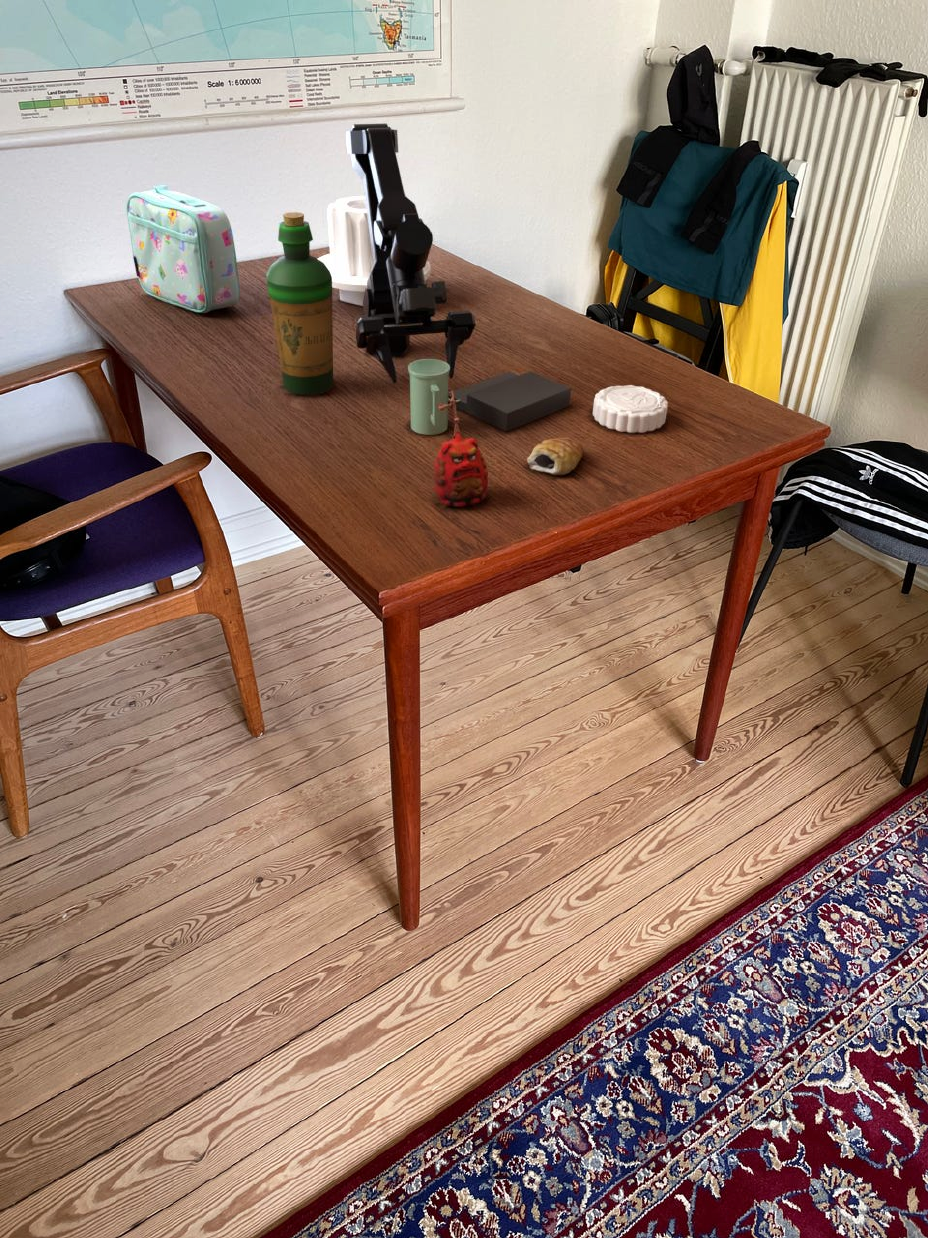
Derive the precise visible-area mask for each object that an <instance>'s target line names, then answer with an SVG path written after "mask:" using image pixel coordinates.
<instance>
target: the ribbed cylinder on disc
mask: <svg viewBox="0 0 928 1238" xmlns="http://www.w3.org/2000/svg"><path fill="white" fill-rule="evenodd" d="M326 211H327V214H326V215H327V226H328V228H327V229H328V241H329V253H328V254H324V255H322V256H320V257H317V259H319V260H320V261H322V262H323V263H324V264H325V265H326V267H327V268H328V270H329V271H330V273H331V276H332V289H333V288H334V289H337V290H339V301H341V302H344V303H348V304H352V305H357V306H361V307H363V299H364V293H365V288H367V280H368V278H369V276H370V273H371V271H372V268H373V257H372V249H371V241H370V232H369V224H368V216H367V208H366V200H365V195H353V196H348V197H343V198H337V199H336V200H335V201H334V202H330V203H329V204H328V207H327V210H326ZM431 270H432V269H431V263H430V262H429V261H428V260H427V262H426V265H425V267H424V268H423V272H424V278H425V281H427V280H428V279H429V278H430V276H431V272H432V271H431Z"/></svg>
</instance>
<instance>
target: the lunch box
mask: <svg viewBox="0 0 928 1238" xmlns="http://www.w3.org/2000/svg"><path fill="white" fill-rule="evenodd" d="M126 217H127V218H126V219H127V224H128V229H129V234H130V235H129V236H130V242H131V248H132V249H131V251H132V258H133V264H134V269H135V274H136V277H138V281H139V284H140V286H141V288H142V289H143V291H144V292H145V293H146V294H147V295H149V296H151V297H153V298H155V299H157V300H159V301H162V302H164V303H166V304H170V305H172V306H176V307H179V308H182V309H185V310H188V311H191V312H194V313H198V314H207V313H210V312H211V311H215V310H219V309H224V308H231V307H234V306H235V307H236V306H237V305H238V304H239V301H240V293H241V292H240V291H241V290H240V279H239V268H238V261H237V254H236V247H235V241H234V235H233V230H232V225H231V222H230V219H229V217H228V214H226V213H225V211H224V210H223V209H222V208H220V207H219V206H217V205H216V204H215V205H214V204H212V203H210V202H207V201H205V200H202V199H199V198H196V197H193V196H190V195H188V194H185V193H182V192H178V191H175V190H170V189H168V186H167V185H165V184H164V185H154V186H153V189H149V190H148V191H141V192H133V193H131V194H130V195H129V197H128V199H127V202H126Z"/></svg>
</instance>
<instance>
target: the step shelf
mask: <svg viewBox="0 0 928 1238" xmlns="http://www.w3.org/2000/svg"><path fill="white" fill-rule="evenodd" d="M452 391H453V394H454V400H455V401H457V400H460V399H461V401H459V402H456V409H459V410H460V411H463V412H465V413H468V414H469V415H471V416H473V417H474V418H475V417H476V418H477V419H479V420H481V421H483V422H485V423H488V424H489V425H492V426H494V427H496V428H498V429H500V430H502V431H504V432H509V431H512V430H514V429H517V428H519V427H521V426H524V425H526V424H529V423H531V422H534V421H535V420H536V421H537V420H538V419H542V418H543V417H546V416H549V415H551V414H553V413H556V412H558V411H561V410H563V409H565V408H569V407H570V404H571V403H570V402H571V394H572V393H571V392H572V387H569V386H567V385H564V384H563V383H559V382H557V381H555V380H553V379H550V378H548V377H546V376H543V375H540V374H538V373H535V372H533V371H531V370H530V371H526V372H524V373H521V374H516V373H514V372H512V371H511V370H510V371H506V372H503V373H500V374H497V375H495V376H492V377H489V378H487V379H483V380H481V381H478V382H476V383H473V384H470V385H467V386H464V387H461V388H459V389H456V390H452ZM451 398H452V394H451V393H450V392H448V399H450V400H451ZM448 404H451V402H450V401H449V400H448Z"/></svg>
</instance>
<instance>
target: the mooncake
mask: <svg viewBox="0 0 928 1238" xmlns="http://www.w3.org/2000/svg"><path fill="white" fill-rule="evenodd" d="M668 406H669V402H668V401H667V399H666V397H665V396H664V395H661V394H660V393H659V392H658V391H653V390H652V389H650V388H646V387H644V386H636V385H634V384H628V385H614V386H613V385H611V386H608V387H606V388H603V389H601V390H599V392H597V393H596V394H595V396H594V399H593V407H592V416H593V417H594V421H596V422H598V423H599V425H601V426H603V427H606V428H607V429H608V430H616V431H617V432H620V433H624V432H626V433H628V434H636V433H639V434H644V433H646V432H653V431H655V430H657V429H660V428H662V426H663V425H664V424H665V423H666V421H667V420H666V419H667V414H668Z"/></svg>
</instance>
